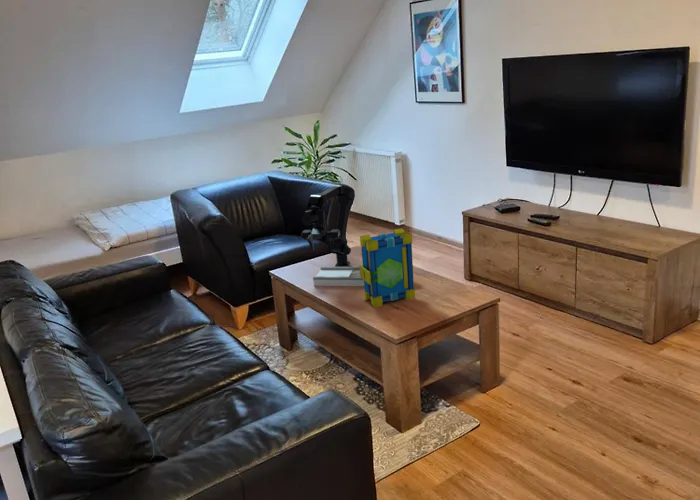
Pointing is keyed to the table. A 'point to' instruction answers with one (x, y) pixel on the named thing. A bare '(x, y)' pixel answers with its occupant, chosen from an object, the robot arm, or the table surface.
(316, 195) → the robot arm
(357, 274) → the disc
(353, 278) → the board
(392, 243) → the decorative book
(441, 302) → the table surface
